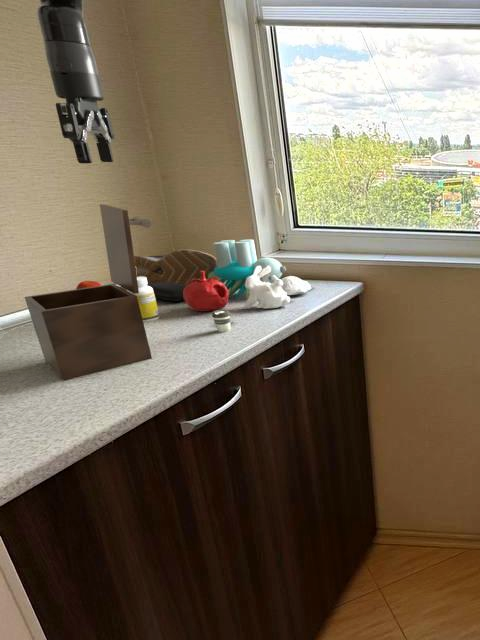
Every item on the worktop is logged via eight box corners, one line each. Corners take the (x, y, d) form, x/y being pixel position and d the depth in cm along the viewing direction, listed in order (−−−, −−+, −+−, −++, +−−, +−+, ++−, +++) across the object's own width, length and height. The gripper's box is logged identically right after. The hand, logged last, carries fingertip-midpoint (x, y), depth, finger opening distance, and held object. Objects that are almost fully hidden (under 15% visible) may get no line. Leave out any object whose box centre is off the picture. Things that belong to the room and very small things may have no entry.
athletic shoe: (201, 247, 139) (231, 245, 150) (115, 254, 145) (149, 251, 156) (210, 288, 142) (238, 283, 153) (125, 293, 148) (158, 287, 159)
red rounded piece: (87, 284, 118) (88, 316, 120) (112, 283, 124) (112, 313, 126) (65, 280, 119) (67, 311, 121) (91, 279, 125) (92, 309, 127)
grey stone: (286, 290, 143) (284, 272, 141) (314, 290, 143) (312, 273, 141) (272, 298, 135) (269, 279, 133) (302, 298, 135) (299, 280, 133)
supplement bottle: (128, 320, 119) (117, 279, 115) (153, 315, 123) (143, 274, 119) (139, 324, 116) (128, 282, 112) (164, 318, 120) (154, 277, 116)
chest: (64, 384, 87) (41, 311, 82) (46, 364, 95) (24, 296, 90) (152, 362, 97) (137, 295, 92) (130, 345, 104) (114, 283, 99)
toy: (290, 237, 141) (297, 291, 146) (208, 238, 139) (218, 293, 144) (278, 243, 130) (286, 301, 135) (188, 245, 128) (200, 303, 133)
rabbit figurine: (237, 309, 126) (230, 270, 122) (250, 301, 133) (243, 263, 129) (287, 309, 126) (281, 270, 122) (297, 301, 133) (291, 263, 129)
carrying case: (170, 279, 143) (209, 286, 138) (171, 290, 144) (210, 297, 139) (133, 283, 134) (172, 290, 129) (134, 295, 135) (173, 302, 129)
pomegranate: (185, 316, 120) (176, 277, 117) (188, 305, 129) (179, 268, 125) (231, 311, 124) (224, 273, 121) (231, 301, 133) (224, 265, 129)
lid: (122, 210, 87) (158, 210, 91) (99, 204, 94) (133, 205, 98) (133, 293, 91) (167, 290, 95) (111, 281, 99) (143, 279, 103)
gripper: (73, 75, 104) (95, 161, 110) (28, 65, 91) (55, 163, 97) (114, 77, 105) (133, 162, 111) (75, 67, 92) (99, 164, 98)
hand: (96, 162), depth 104 cm, fingers open, 8 cm apart
